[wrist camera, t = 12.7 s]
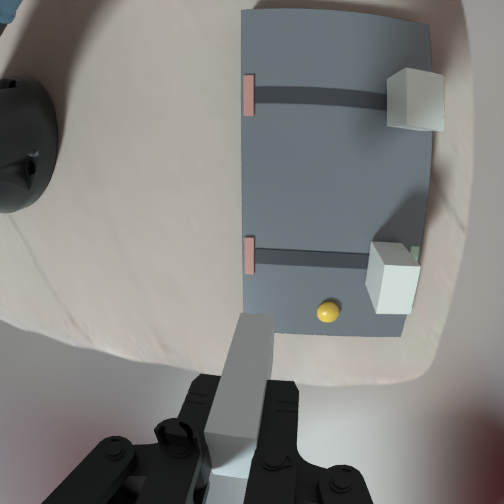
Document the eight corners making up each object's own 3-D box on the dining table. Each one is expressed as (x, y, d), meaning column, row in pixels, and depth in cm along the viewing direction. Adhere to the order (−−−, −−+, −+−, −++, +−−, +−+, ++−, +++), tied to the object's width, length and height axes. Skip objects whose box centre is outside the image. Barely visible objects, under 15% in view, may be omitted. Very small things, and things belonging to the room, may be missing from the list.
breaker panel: (245, 18, 20) (240, 8, 18) (420, 31, 18) (430, 23, 16) (247, 318, 29) (242, 332, 27) (395, 324, 27) (401, 339, 25)
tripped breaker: (371, 241, 23) (384, 264, 19) (401, 243, 22) (420, 266, 18) (365, 283, 24) (376, 313, 20) (394, 284, 24) (410, 314, 20)
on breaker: (386, 78, 18) (405, 67, 14) (418, 84, 18) (443, 75, 14) (386, 126, 20) (406, 125, 16) (418, 130, 19) (444, 131, 15)
